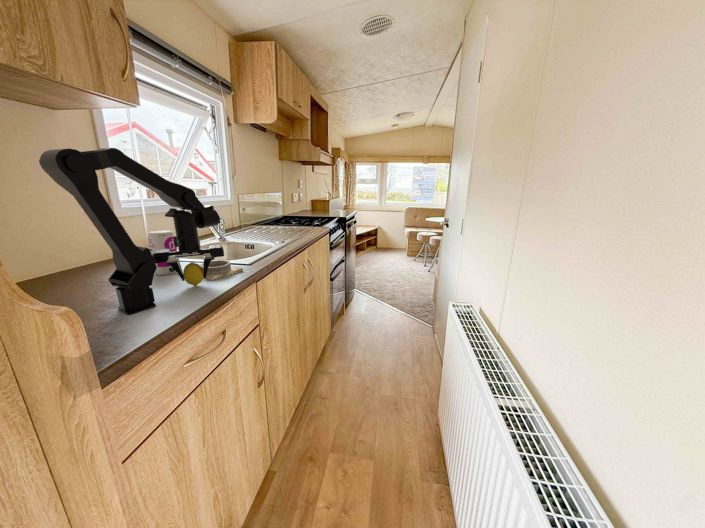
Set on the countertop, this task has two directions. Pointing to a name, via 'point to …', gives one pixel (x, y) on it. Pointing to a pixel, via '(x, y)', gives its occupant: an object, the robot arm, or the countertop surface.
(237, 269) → the carrier board
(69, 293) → the countertop surface
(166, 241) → the supplement can
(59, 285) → the countertop surface
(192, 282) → the lemon
